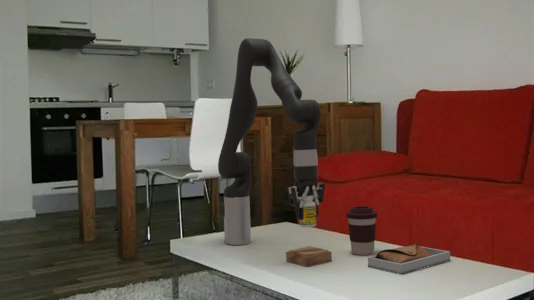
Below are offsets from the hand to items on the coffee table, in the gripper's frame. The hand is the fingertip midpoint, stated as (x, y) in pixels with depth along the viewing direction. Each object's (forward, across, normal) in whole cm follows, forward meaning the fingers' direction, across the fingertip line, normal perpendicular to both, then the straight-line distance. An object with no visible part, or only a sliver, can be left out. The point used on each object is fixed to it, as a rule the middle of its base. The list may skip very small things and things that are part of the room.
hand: (307, 218), depth 187 cm
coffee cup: (+14, -20, +4) cm, 25 cm away
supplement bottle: (+3, 0, 0) cm, 3 cm away
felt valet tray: (+14, -19, +24) cm, 34 cm away
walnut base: (+14, 0, 0) cm, 14 cm away
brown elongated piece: (+13, -19, +23) cm, 33 cm away
